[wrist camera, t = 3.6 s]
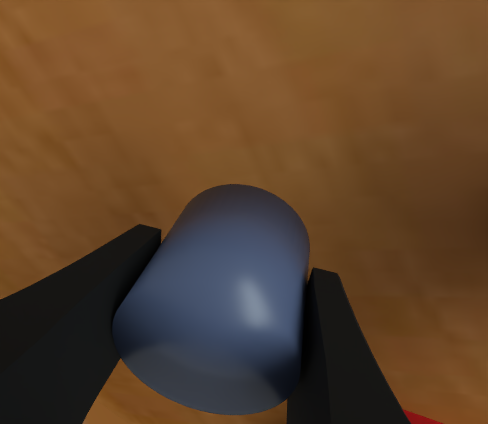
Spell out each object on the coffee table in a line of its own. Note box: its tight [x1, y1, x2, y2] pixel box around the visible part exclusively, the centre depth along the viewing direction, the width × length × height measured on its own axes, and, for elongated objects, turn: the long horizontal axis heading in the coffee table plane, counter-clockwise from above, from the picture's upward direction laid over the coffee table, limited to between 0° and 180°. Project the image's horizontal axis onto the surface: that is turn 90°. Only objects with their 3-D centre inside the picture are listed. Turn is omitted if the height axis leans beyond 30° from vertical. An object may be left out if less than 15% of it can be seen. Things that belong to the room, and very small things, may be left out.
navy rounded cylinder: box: [112, 184, 310, 415], centre depth 9 cm, size 4×4×4 cm
